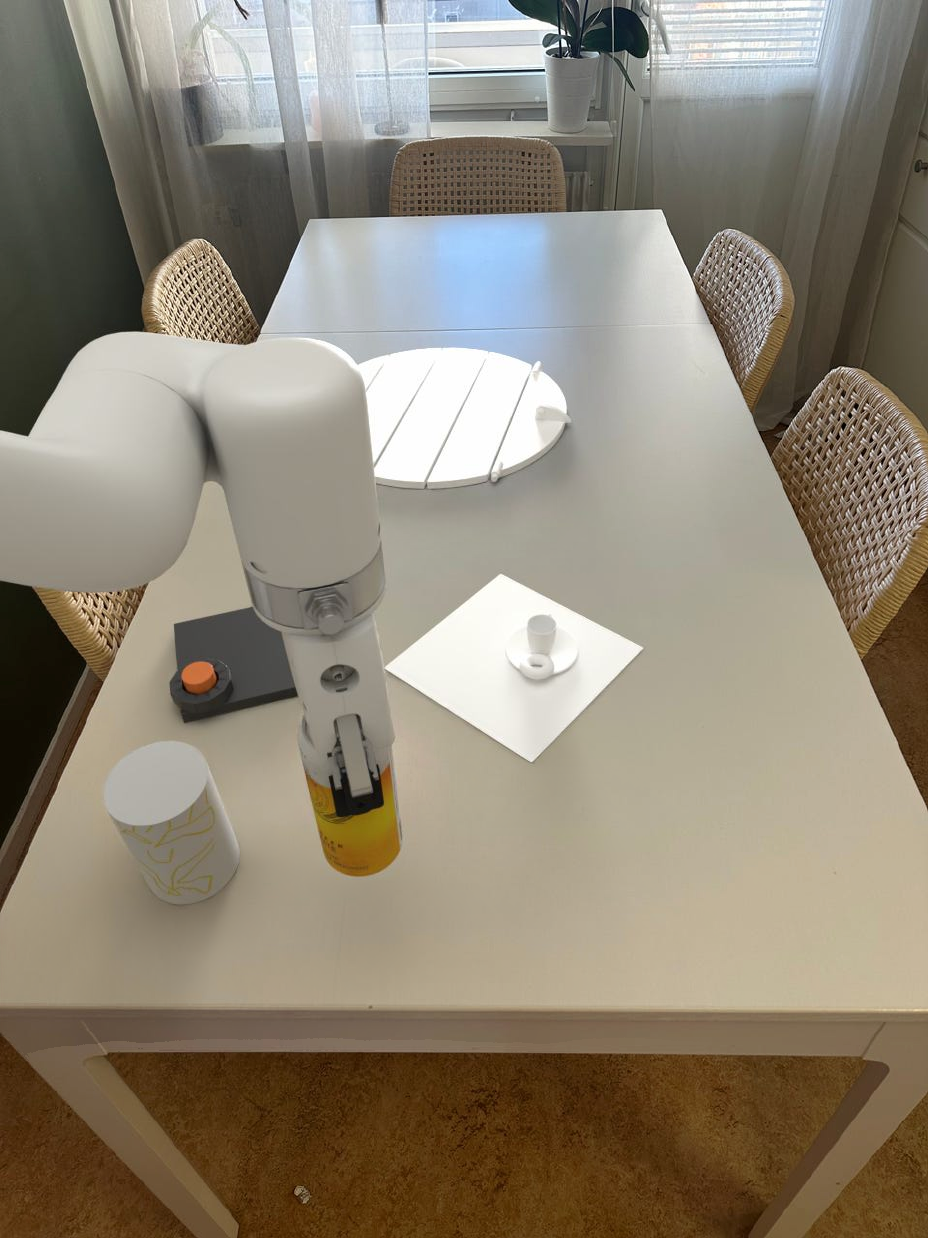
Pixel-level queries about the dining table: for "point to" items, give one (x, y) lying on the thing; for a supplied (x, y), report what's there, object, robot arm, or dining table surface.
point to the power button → (199, 677)
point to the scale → (231, 663)
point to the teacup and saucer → (515, 664)
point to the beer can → (353, 838)
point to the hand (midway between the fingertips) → (349, 767)
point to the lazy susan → (458, 416)
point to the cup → (173, 821)
